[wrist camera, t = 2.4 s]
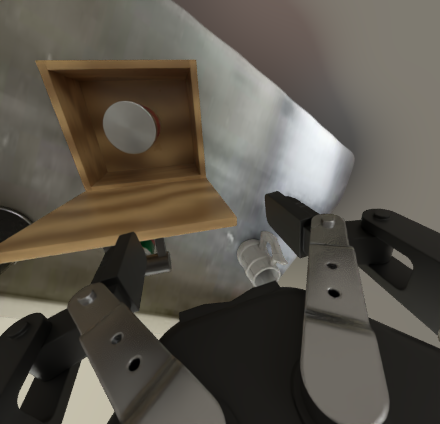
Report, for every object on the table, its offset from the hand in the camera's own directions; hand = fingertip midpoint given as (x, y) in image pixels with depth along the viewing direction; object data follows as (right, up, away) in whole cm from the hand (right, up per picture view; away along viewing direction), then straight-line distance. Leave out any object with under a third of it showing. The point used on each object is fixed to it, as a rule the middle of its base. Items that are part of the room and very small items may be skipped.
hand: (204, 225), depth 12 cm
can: (-11, +15, +20) cm, 27 cm away
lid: (-8, +2, +9) cm, 12 cm away
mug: (+9, -7, +37) cm, 39 cm away
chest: (-12, +15, +21) cm, 28 cm away
